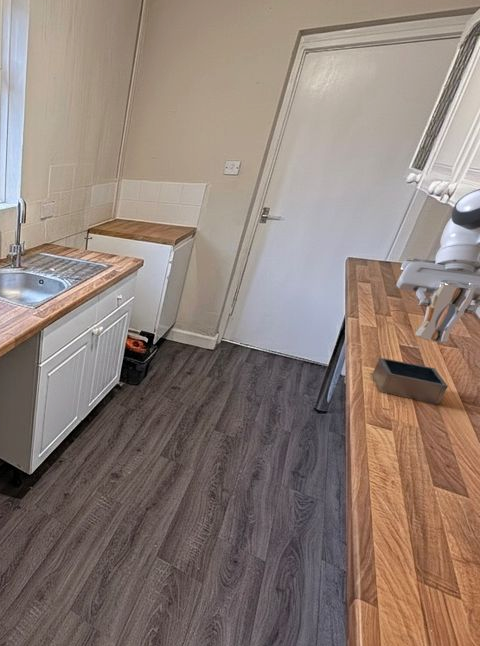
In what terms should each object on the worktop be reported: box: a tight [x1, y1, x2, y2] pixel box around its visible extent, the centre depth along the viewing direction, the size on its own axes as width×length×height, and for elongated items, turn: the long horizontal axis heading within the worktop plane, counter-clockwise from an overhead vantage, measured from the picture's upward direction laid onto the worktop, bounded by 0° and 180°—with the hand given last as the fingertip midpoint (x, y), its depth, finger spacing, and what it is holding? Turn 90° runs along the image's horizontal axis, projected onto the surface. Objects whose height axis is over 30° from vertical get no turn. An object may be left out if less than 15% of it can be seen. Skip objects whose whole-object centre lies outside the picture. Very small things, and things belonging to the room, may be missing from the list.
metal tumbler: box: [414, 280, 478, 344], centre depth 106 cm, size 7×7×15 cm
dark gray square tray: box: [372, 357, 449, 405], centre depth 116 cm, size 12×12×6 cm
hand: (446, 308), depth 105 cm, fingers closed on metal tumbler, 7 cm apart
